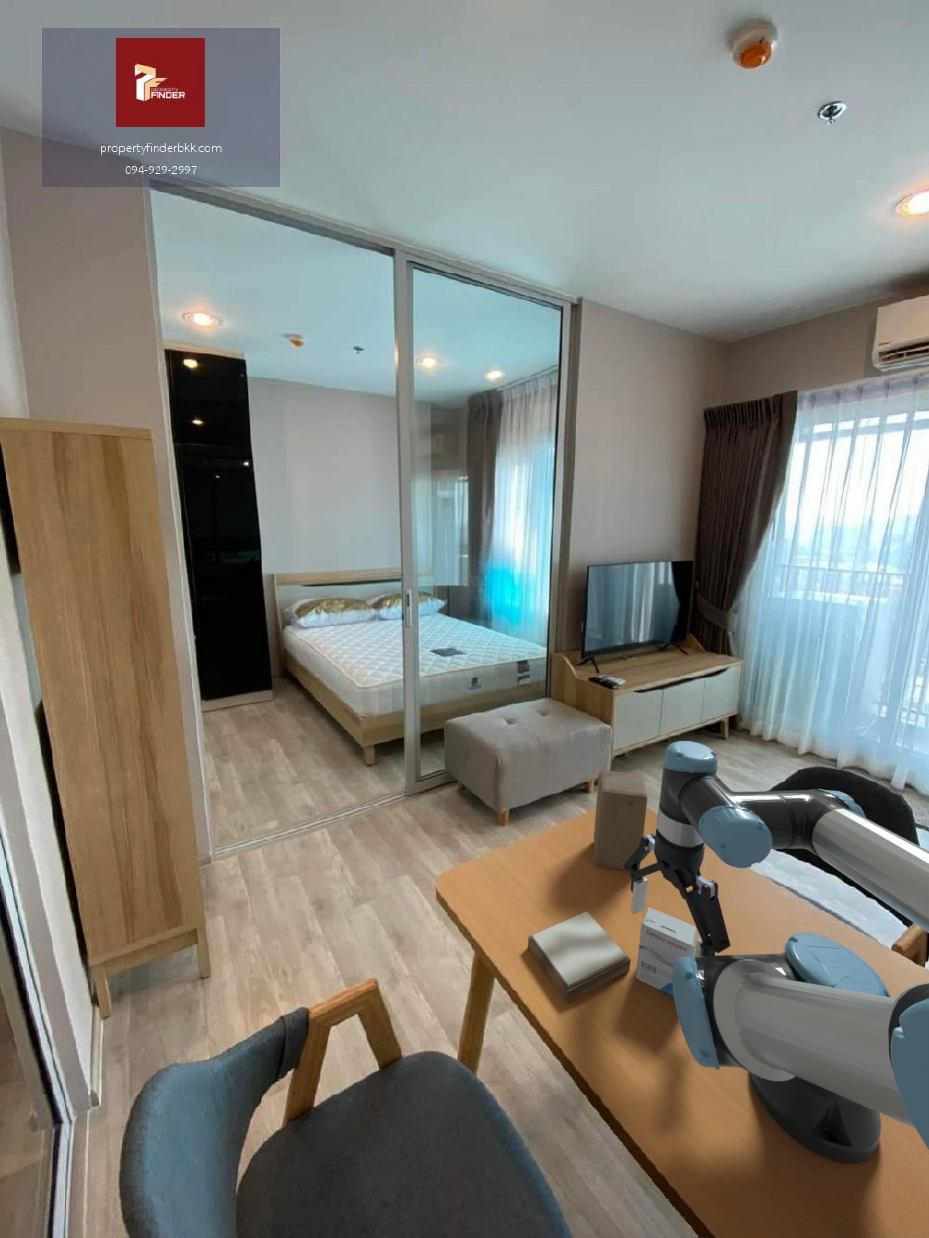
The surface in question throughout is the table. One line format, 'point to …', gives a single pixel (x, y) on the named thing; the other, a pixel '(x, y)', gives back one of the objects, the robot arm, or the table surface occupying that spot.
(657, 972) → the ink box
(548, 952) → the stand
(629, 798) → the wooden block
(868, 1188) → the table surface
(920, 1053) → the robot arm
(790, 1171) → the table surface
